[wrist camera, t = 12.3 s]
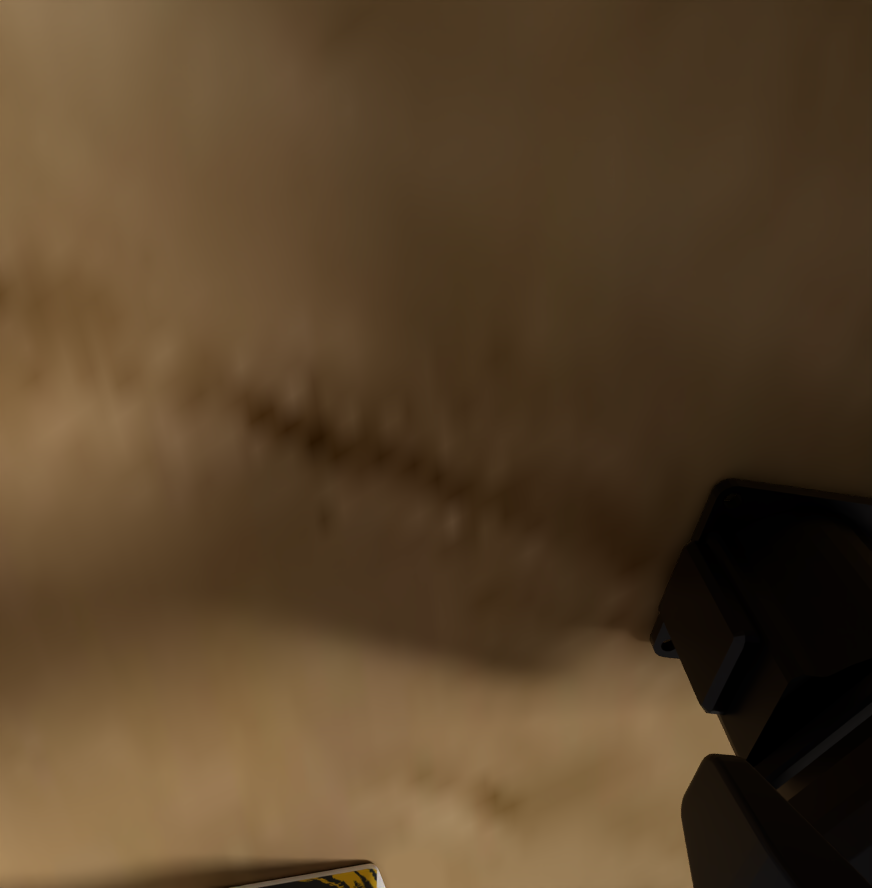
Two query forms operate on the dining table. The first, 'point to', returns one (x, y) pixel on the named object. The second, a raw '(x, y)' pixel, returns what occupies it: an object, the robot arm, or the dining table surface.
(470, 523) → the dining table surface
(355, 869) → the medicine bottle
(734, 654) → the robot arm
